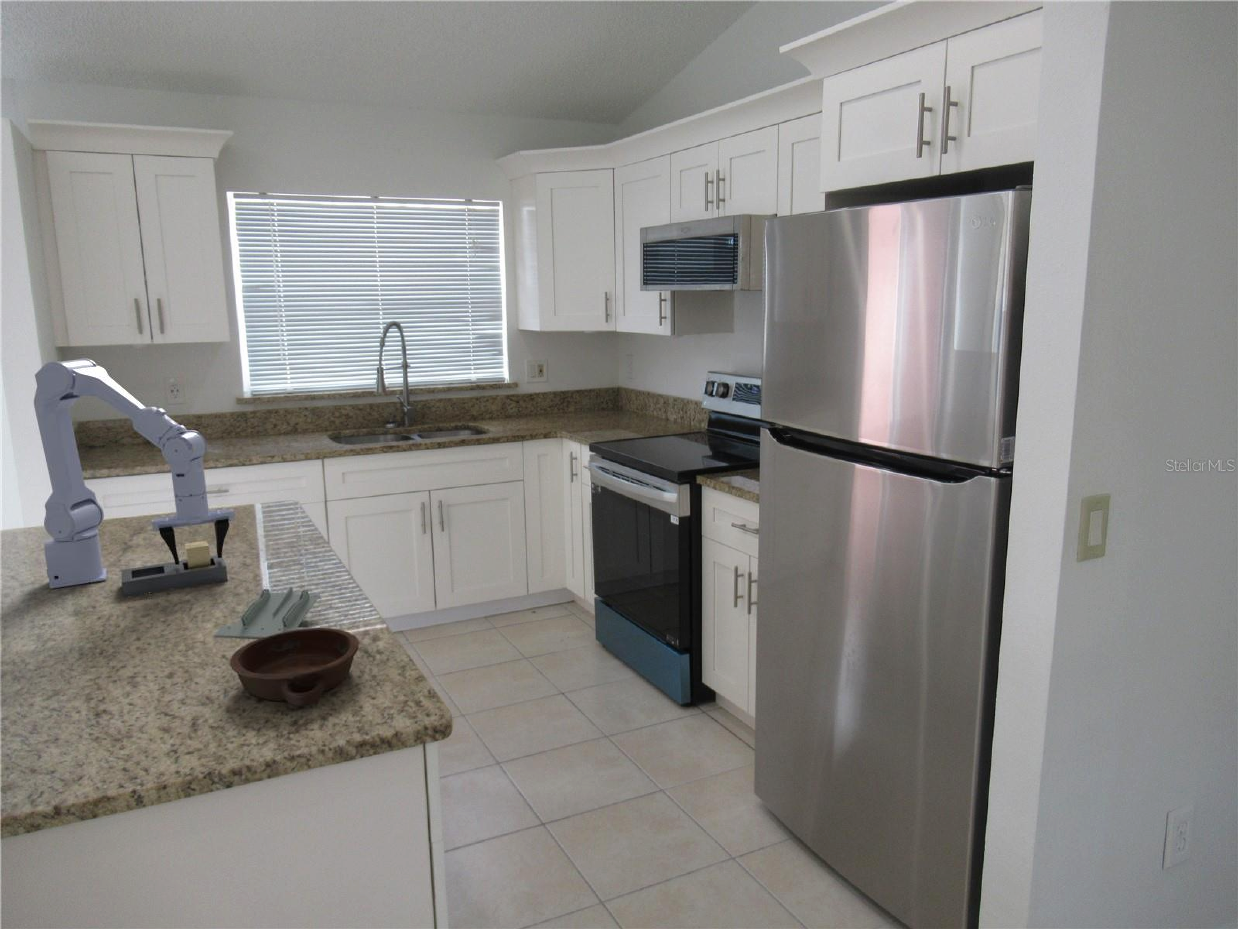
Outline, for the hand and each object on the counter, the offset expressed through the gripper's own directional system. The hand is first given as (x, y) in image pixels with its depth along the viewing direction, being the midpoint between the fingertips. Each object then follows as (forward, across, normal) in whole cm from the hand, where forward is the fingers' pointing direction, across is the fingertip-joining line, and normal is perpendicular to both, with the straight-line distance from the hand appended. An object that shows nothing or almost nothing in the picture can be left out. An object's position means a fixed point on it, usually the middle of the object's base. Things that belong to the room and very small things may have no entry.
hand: (198, 560), depth 172 cm
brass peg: (+4, 0, 0) cm, 4 cm away
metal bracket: (+4, +9, -35) cm, 36 cm away
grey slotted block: (+4, -4, 0) cm, 6 cm away
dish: (+4, +8, -60) cm, 61 cm away
